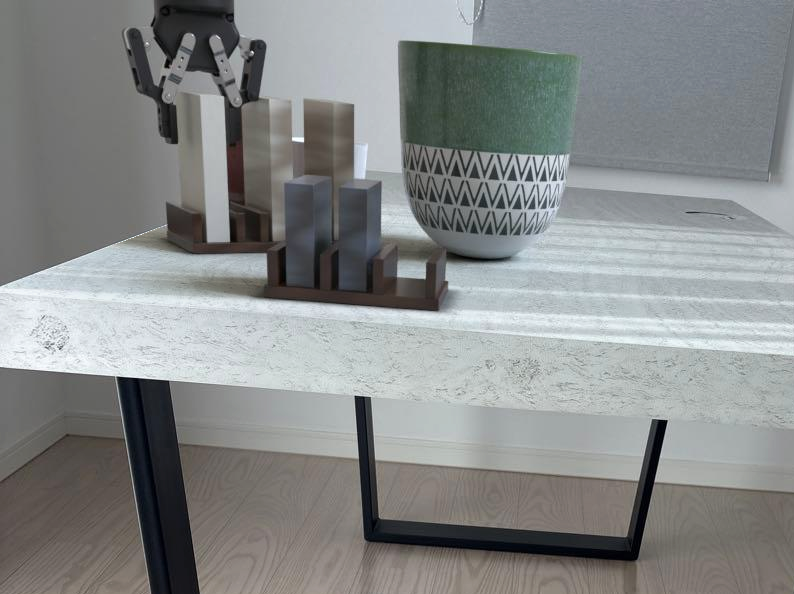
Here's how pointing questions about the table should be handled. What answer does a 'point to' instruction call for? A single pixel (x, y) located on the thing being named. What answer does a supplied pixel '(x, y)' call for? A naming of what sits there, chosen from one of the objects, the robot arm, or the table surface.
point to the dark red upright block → (235, 171)
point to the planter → (485, 142)
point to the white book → (204, 161)
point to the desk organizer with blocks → (345, 251)
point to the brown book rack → (274, 173)
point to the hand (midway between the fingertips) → (201, 143)
